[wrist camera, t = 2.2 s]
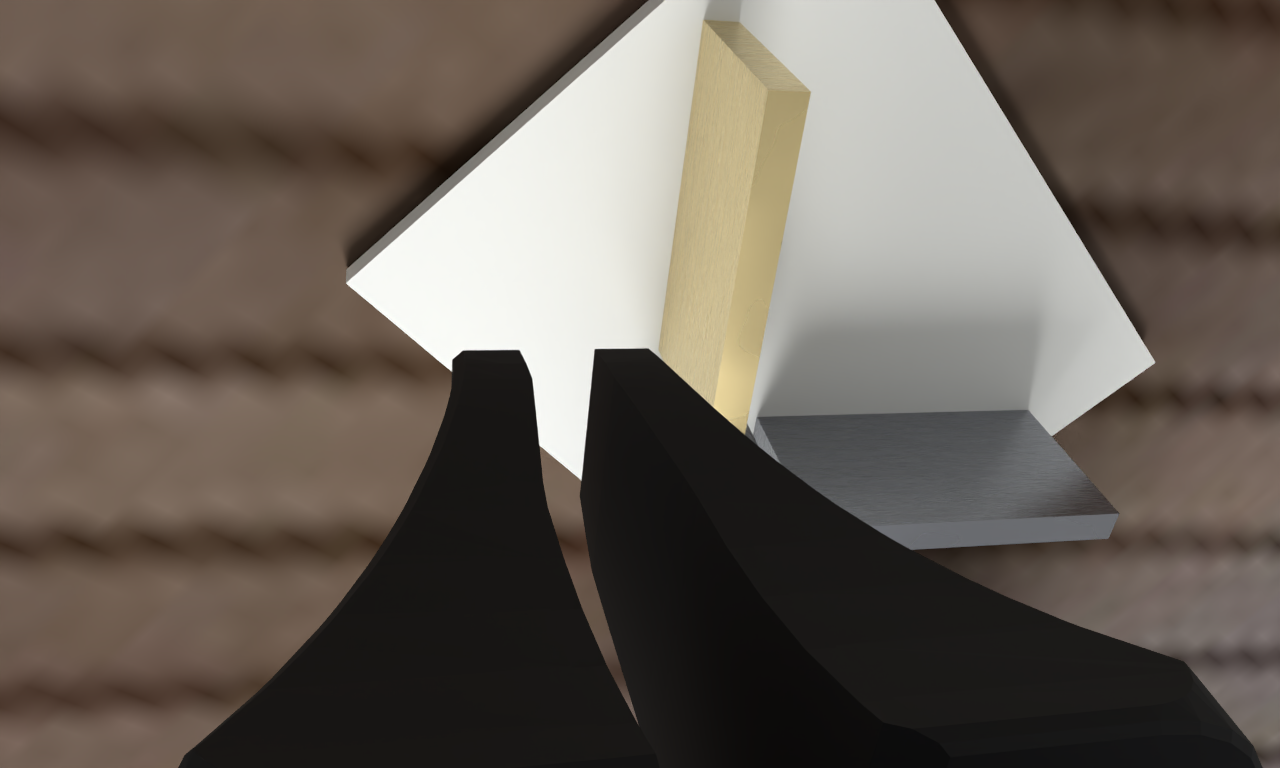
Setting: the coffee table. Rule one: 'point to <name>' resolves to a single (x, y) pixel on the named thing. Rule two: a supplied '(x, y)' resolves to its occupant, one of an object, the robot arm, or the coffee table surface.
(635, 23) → the board
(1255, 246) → the coffee table surface
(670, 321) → the loose leaf
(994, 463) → the hinge fixed
